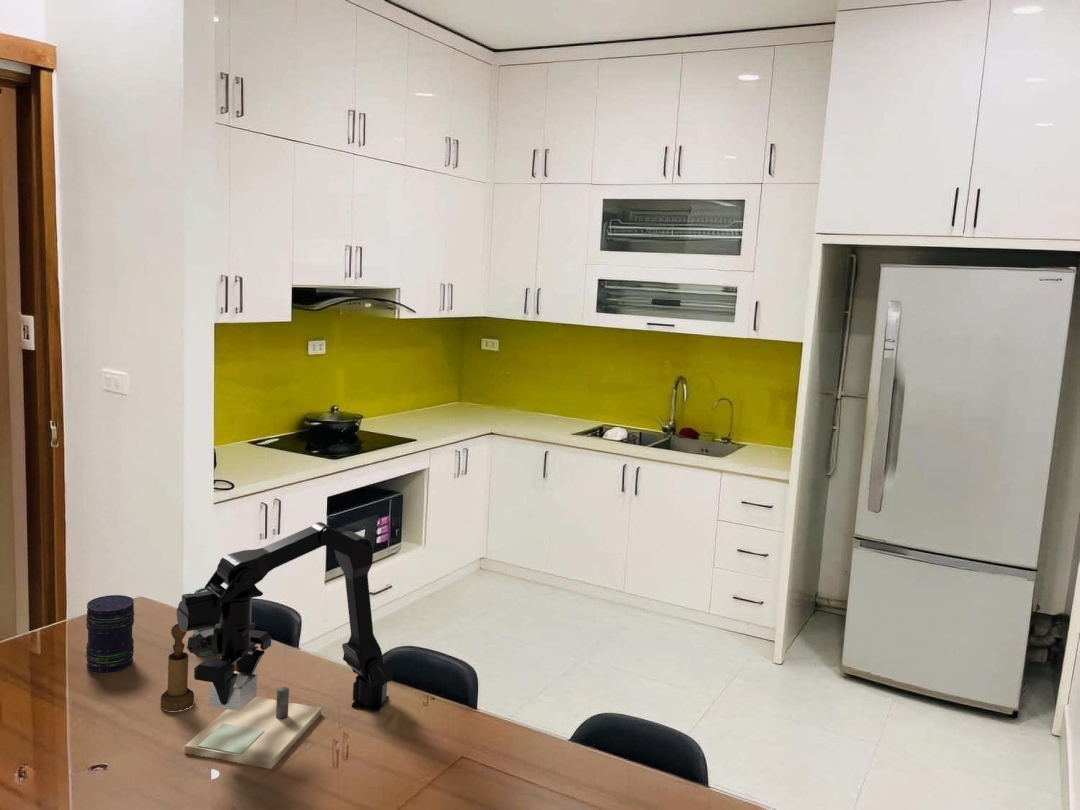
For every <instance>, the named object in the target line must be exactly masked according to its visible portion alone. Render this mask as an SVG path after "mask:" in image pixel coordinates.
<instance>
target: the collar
mask: <svg viewBox="0 0 1080 810" xmlns="http://www.w3.org/2000/svg"><path fill="white" fill-rule="evenodd" d="M234 673H237V674H238V675H237V678H236V681H235V684H234V687H233V690H232V692H231V695H230V698H229V701H228V703H227V704H226V705H222V704H221V703H220V700H219V697H218V694H217V692H216V689H215V687H214V684H213V683H212V682H209V687H208V688H209V691H208V692H209V693H208V694H209V696H208V697H209V699H208V706H209V707H212V708H218V709H224V710H227V709H229V710H235V711H240V710H242V709H243V708H244V707H245V706H246V705H247V704H248V703H249V702H251V701H252V700H253V699H254V698H255V697H257V689H258V674H254V673H253V674H249V673H243V672H238V670H237V671H236V670H234Z"/></svg>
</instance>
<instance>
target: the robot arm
mask: <svg viewBox="0 0 1080 810" xmlns="http://www.w3.org/2000/svg"><path fill="white" fill-rule="evenodd" d="M325 546H326V547H329V548H330V549H333V550H334V554H335V557H336V561H337V563H338V565H339V566H340V568H341V570H342V572H343V575H344V580H345V589H346V599H347V611H348V619H349V627H350V628H349V629H350V630H349V631H350V637H349V639H348V641H347V642H345V643H342V644H341V646H342V647H341V648H342V651H343V657H342V660H343V662H346V665H347V666H349V667H350V669H352V672H353V673H355V674H356V675H357V676H355V681H354V682H353V683H352V684H353V687H352V700H353V702H352V703H351V708H354V709H355V708H356V709H362V710H366V711H374V712H380V711H381V710H382V709H383V708H384V706H385V705H386V703H387V702H388V701H389V699H390V696H388V695H387V690H388V683H389V682H391V681H392V679H393V676H394V674H395V673H394V671H393V670H392V669H390V668H389V667H388V666H387V665H386V664H385V659H384V656H383V655H384V654H383V652H382V649H381V646H380V644H379V642H378V641H377V639H376V636H375V635H374V627H373V616H372V615H373V614H372V606H371V596H370V595H371V594H370V588H369V587H370V585H369V584H370V583H369V571H370V569H371V568H372V566H373V563H374V562H373V561H374V545H373V543H372V542H371V541H370V540H369V539H368V538H365V537H363V536H361V535H359V534H358V533H356V532H353V531H351V530H347V531H344V532H341V531H339V530H338V529H335V528H333V527H332V526H331V525H328V524H326V523H325V522H321V521H318V522H315V523H313V524H312V525H311V526H309V527H306V528H305V529H302V530H299V531H297V532H294V533H293V534H290V535H289V536H287V537H283V538H282V539H279V540H277V541H275V542H272V543H269V544H268V545H265V546H262V547H260V548H257V549H245V550H240V551H237V552H231V553H228V554H226V555H225V556H223V557H222V558H220V560H219V563H218V565H217V568H216V570H215V572H214V573H213V575H211V577H210V579H209V580H208V581H207V583H206V584H205V585H204V588H205V589H206V590H207V591H205V592H200V593H195V592H194V593H183V594H182V595H181V601H179V603H178V605H177V608H176V620H177V624H178V625H179V627H180V629H181V631H182V632H186V633H187V632H191V631H193V630H197V629H202V628H206V627H211V626H215V625H216V624H217V623H219V622H220V625H218V626H217V627H215V628H214V629H209V630H205V631H202V632H200V633H198V634H197V635H193V634H192V635H190V636H189V637H188V638H187V639H188V641H187V646H186V649H187V650H188V651H189V653H191V654H194V655H195V656H198V655H197V654H199V653H202V652H206V651H211V650H212V654H214V655H216V656H217V655H220V658H215V657H211V656H209V657H208V656H207V657H206V658H205V659H204V660H203V661H202V662H200V663H199V664H197V665H196V666H195V667H194V668H193V679H194V680H195V681H203V682H208V683H211V682H212V683H213V684H214V687H215V689H216V692H217V694H218V697H219V700H220V703H221V704H222V705H226V704H227V703H228V701H229V698H230V695H231V692H232V690H233V687H234V684H235V681H236V678H237V675H238V674H237V673H234V671H235V665H234V664H235V663H236V664H237V667H236V669H237V672H243V673H249V674H254V672H255V670H256V669H257V666H258V664H259V663H260V661H261V659H262V658H263V656H264V655H265V652H266V650H267V649H269V648H270V647H271V646H272V636H271V634H269V632H268V631H262V630H257V629H256V630H255V628H256V622H254V621H252V605H253V604H252V598H258V597H262V596H263V595H264V592H263V591H262V590H260V589H258V587H257V586H256V584H258V583H260V582H261V581H263V580H264V578H265V577H266V576H267V575H268V573H269V572H271V571H272V570H274V569H277V568H279V567H280V566H283V565H286V564H287V563H289V562H291V561H294V560H296V559H297V558H300V557H303V556H305V555H306V554H309V553H310V552H313V551H315V550H317V549H319V548H321V547H325ZM223 584H225V585H227V587H226V588H225V587H224V586H222V585H223ZM258 645H260V647H259V646H258ZM259 648H260V649H259Z"/></svg>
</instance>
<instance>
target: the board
mask: <svg viewBox="0 0 1080 810" xmlns="http://www.w3.org/2000/svg"><path fill="white" fill-rule="evenodd" d="M289 699H290V688H289V687H288V686H280V687H278V688H276V699H272V698H265V697H260V696H259V697H258V696H256V697H255V698H254V699H253V700H252V701H251V702H249V703H248V704H247V705H246V706H245V707H244V708H243V709H242V710H240V711H235V710H229V709H225V710H223V712H222V713H221V714H219V715H218V716H217V717H216V718H215V719H214V720H213V721H211V723H209V724H208V725H207V726H205V728H204V729H202V730H201V731H200V732H199V733H198V734H197V735H195V736H194V737H193V738H192V739H190V741H188V742H187V743H186V744H185V745H184V750H183V751H184V752H185V753H184V754H187V753H190V754H189V755H192V754H196V755H195V756H198V755H203V756H210V757H213V758H212V759H214V758H218V759H217V760H219V759H222V760H221V761H225V760H228V761H227V762H230V761H233V762H232V763H235V762H237V763H236V764H241V763H242V764H241V765H243V764H244V765H246V766H252V767H258V768H262V767H263V769H269V770H272V768H274V766H275V765H276V764H277V763H278V762H279V761H280V760H281V759H282V758H283V756H284V755H285V754H286V753H287V752H288V751H289V750H290V749H291V748H292V746H293V745H295V744H296V742H297V741H298V740H300V738H301V737H302V736H303V735H304V734H305V733H306V731H307V730H308V729H309V728H310V727H311V726H312V725H313V724H314V723H315V722H316V721H317V720H318V719H319V717H320V716H322V707H320V706H319V707H318V706H313V705H312V706H311V705H308V704H307V705H306V704H301V703H294V702H289V701H290V700H289ZM203 756H202V757H203ZM281 757H282V758H281Z"/></svg>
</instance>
